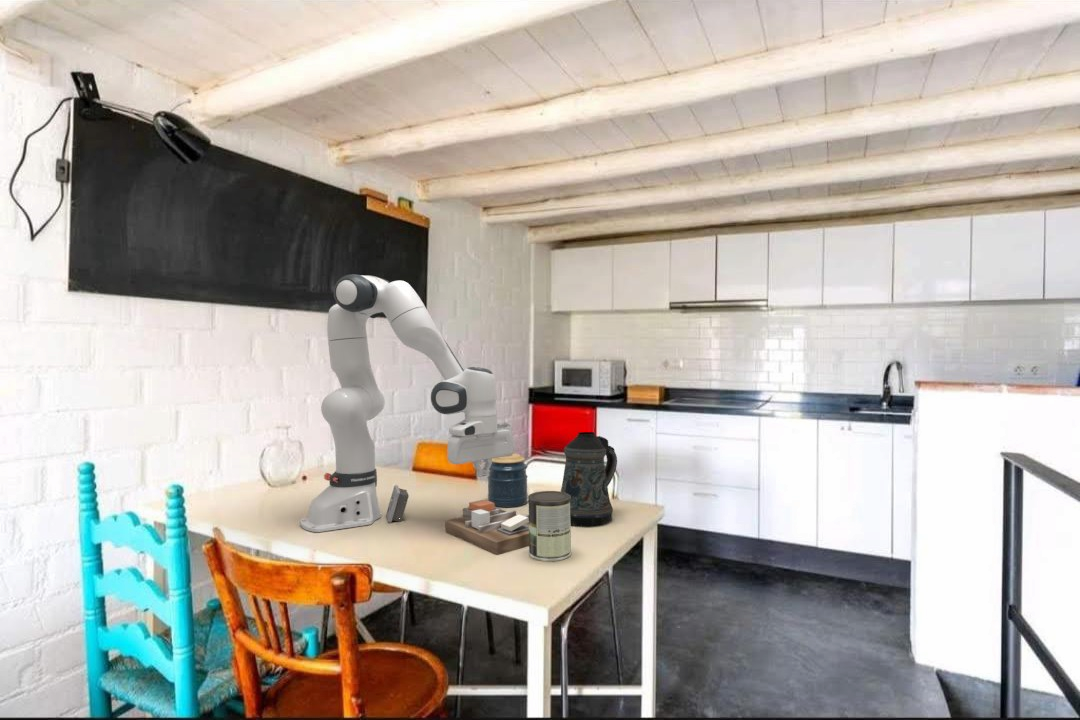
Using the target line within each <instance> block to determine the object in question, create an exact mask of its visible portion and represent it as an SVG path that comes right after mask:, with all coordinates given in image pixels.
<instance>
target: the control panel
mask: <svg viewBox="0 0 1080 720" xmlns="http://www.w3.org/2000/svg"><path fill="white" fill-rule="evenodd" d="M471 511H472V510H469V506H468V507H464V508H462V516H460V517H455V518H452V519H448V520H445V521H444V523H445V524H444V526H445V527H444V528H445V529H444V532H445V531H446V532H445V533H447V532H448V533H447V534H449V533H450V535H452V536H454V537H456V538H458V537H459V538H458V539H460V538H461V540H462V541H465V542H468V543H469V542H470V543H469V544H472V545H474V546H477V547H478V548H481V549H483V550H486V551H488V552H490V553H492V554H495V555H496V556H498V555H500V554H504V553H508V552H511V551H514V550H519V549H522V548H525V547H529V522H528V523H526V524H524V525H522V526H520V527H518V528H517V529H515V530H513V531H509V530H506V529H503V528H501V523H503V522H504V521H506V520H508V519H510V518H512V517H514V516H516V515H517V510H514V509H513V510H509V511H507V510H503V509H502V508H500V507H496V506H494V510H491V511H488V512H490V524H486V525H481V526H478V529H477V528H474V527H472V518H471ZM522 516H525V517H528V519H529V514H524V515H522Z"/></svg>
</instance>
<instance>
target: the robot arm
mask: <svg viewBox="0 0 1080 720" xmlns="http://www.w3.org/2000/svg"><path fill="white" fill-rule="evenodd" d="M333 297H334V298H333V299H334V300H335V302H336V303H335V304H333V305H332V306H330V308H329V310H328V314H327V326H326V327H327V328H326V331H327V343H328V353H329V354H328V355H329V361H330V368H331V370H332V371H333V373H334V374H335V375H336V378H337V379H338V382H339V385H340V387H341V388H337V389H335V390H334V391H331V392H330V393H328V394H327V395H326V396H325V397H324V398H323V401H322V402H321V407H320V408H321V409H320V410H321V411H320V412H321V415H322V417H323V418H324V420H325V421H326V422H327V423H328V425H329V427H330V430H331V433H332V437H333V441H334V447H335V449H334V450H335V471H334V472H333V473H332V474H331V473H329V472H325V473H324V474H323V479H324V480H325V481H329V485H328V486H327V487H326V488H325V489H324V490H323V491H322V492H320V493H319V494H318V495H317V496H315V497H314V498H313V499H312V500H311V502H310V503H309V506H308V514H307V517H306V516H305V517H303V518H301V519H300V521H299V522H300V523H299V526H300V527H301V528H303V529H304V530H306V531H308V532H313V533H323V532H329V531H335V530H343V529H349V528H355V527H362V526H368V525H372V524H374V522H375V521H376V520H378V519H379V518H381V517H382V513H381V509H380V505H379V502H378V495H377V485H378V483H377V482H378V475H377V474H378V473H377V468H376V456H375V455H376V450H375V449H376V447H375V446H376V445H375V442H374V441H375V440H374V439H372V437H371V435H370V432H369V428H368V423H367V422H368V421H371V420H373V419H375V417H377V416H379V414H381V412H382V411H383V409H384V407H385V404H386V403H385V396H384V394H383V393H382V392H381V390H380V388H379V386H378V384H377V381H376V378H375V376H374V373H373V369H372V366H371V361H370V352H369V344H368V335H367V322H368V319H369V318H372V319H376V318H377V317H380V316H381V315H385V317H386V319H387V320H388V321H387V322H388V323H389V325H390V327H391V328H392V331H393V333H394V334H395V335H396V337H397V338H398V340H399V341H400V342H401V343H402V344H403V345H404V346H406V347H408V348H410V349H412V350H416V351H418V352H419V353H421V354H424V355H425V356H426V357H428V358H429V359H430V360H431V361H432V362H433V364H434V365H435V367H436V369H437V370H438V372H439V373H440V375H441V377H442V378H443V380H442V381H440V382H438V383H437V384H435V385H434V387H433V388H432V390H431V393H430V402H431V405H432V407H433V408H434V410H435V411H437V412H438V413H439V414H442V415H448V416H449V415H457V414H459V413H463V414H464V419H463V420H461V421H459V422H457V423H456V424H454V425H451V426H450V427H449V428H448V432H449V433H448V434H449V435H451V436H449V438H448V439H447V454H446V455H447V456H446V457H447V461H448V462H449V463H450V464H451V465H463V464H468V463H472V465H473V467H474V469H475V470H476V476H477V477H478V478H482V477H488V476H489V468H490V466H491V464H492V459H493V458H499V457H504V456H510V455H513V453H514V452H515V442H514V437H513V427H512V426H511V425H510V424H509V423H508V422H504V423H503V422H502V423H498V413H497V410H496V403H497V388H496V387H497V386H496V379H495V375H494V373H493V371H492V370H491V369H488V368H483V367H475V366H469V367H466V368H465V369H464V368H463V367H462V365H461V363H460V362H459V360H458V359H457V357H456V355H455V354H454V352H453V350H452V349H451V348H450V346H449V344H448V342H446V340H445V339H444V337H443V335H442V334H441V332H440V330H439V328H437V326H436V324H435V322H434V321H433V319H432V317H431V314H430V313H429V311H428V309H427V307H426V306H425V304H424V302H423V301H422V299H421V297H420V296H419V294H418V293H417V292H416V290H415V289H414V288H413V287H412V286H411V284H409V282H406V281H404V280H394V281H391V282H390V281H389V280H387V279H385V278H382V277H378V276H374V275H369V274H368V275H360V274H355V273H354V274H346V275H344V276H341V278H339V279H338V280H337V281H336V282H335V285H334V287H333ZM514 454H515V453H514ZM482 461H483V463H484V465H483V468H482V467H481V465H482Z"/></svg>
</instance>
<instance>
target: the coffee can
mask: <svg viewBox="0 0 1080 720" xmlns="http://www.w3.org/2000/svg"><path fill="white" fill-rule="evenodd" d="M527 497H528V499H527V501H528V515H529V546H528V547H529V549H528V551H529V552H528V555H529V557H530V558H532V559H533V560H537V561H541V562H557V561H558V562H559V561H564V560H565V559H568V558H569V557H570V556H571V555H572V552H571V551H572V549H571V547H572V546H571V542H572V540H571V536H572V535H571V532H572V531H571V527H572V526H571V517H570V500H571V496H570V495H569V494H568V493H565V492H561V490H560V491H558V490H541V491H536V492H532V493H530V494H528V496H527Z"/></svg>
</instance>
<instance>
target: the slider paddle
mask: <svg viewBox="0 0 1080 720" xmlns="http://www.w3.org/2000/svg"><path fill="white" fill-rule="evenodd" d="M471 518H472V527H474V528H477V529H478V526H481V525H486V524H490V512H488V511H485V510H482V509H479V510H474V511H471Z"/></svg>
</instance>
